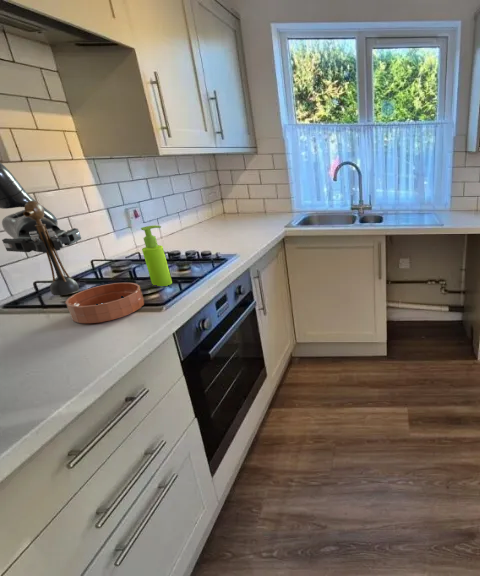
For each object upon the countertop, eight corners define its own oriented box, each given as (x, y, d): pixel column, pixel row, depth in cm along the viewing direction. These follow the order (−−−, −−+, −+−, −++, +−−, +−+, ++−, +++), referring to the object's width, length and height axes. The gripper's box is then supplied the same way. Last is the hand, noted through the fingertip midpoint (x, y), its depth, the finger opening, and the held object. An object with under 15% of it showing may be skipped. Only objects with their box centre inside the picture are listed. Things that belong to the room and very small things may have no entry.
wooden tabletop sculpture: (72, 295, 79) (36, 202, 71) (46, 298, 77) (6, 204, 69) (82, 285, 84) (49, 198, 76) (57, 288, 82) (22, 199, 74)
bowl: (79, 331, 94) (72, 312, 92) (67, 312, 105) (60, 295, 102) (153, 309, 105) (147, 292, 103) (135, 294, 116) (130, 278, 114)
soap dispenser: (178, 282, 125) (163, 225, 117) (156, 289, 120) (139, 229, 112) (171, 279, 128) (156, 223, 120) (150, 284, 123) (133, 227, 116)
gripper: (-9, 222, 79) (-4, 235, 68) (69, 212, 89) (85, 223, 78) (5, 255, 82) (12, 272, 71) (80, 242, 91) (96, 256, 81)
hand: (50, 246), depth 75 cm, fingers closed on wooden tabletop sculpture, 1 cm apart
